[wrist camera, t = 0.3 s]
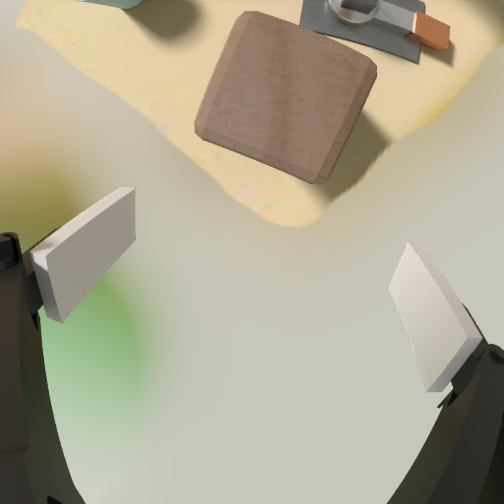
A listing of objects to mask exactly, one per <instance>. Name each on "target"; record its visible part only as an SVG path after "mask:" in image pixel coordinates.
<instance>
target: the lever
mask: <svg viewBox="0 0 504 504" xmlns="http://www.w3.org/2000/svg"><path fill="white" fill-rule="evenodd" d="M424 4H425V3H423V2H421V1H419V0H303V6H302V12H301V18H300V23H299V26H301V27H304V28H306V29H309V30H311V31H314V32H319V33H324V34H328V35H332V36H336V37H340V38H344V39H348V40H351V41H355V42H358V43H362V44H365V45H368V46H372V47H375V48H378V49H381V50H384V51H387V52H390V53H392V54H395V55H398V56H401V57H403V58H406V59H408V60H411V61H414V62H416V63H418V58H419V51H420V43H423V44H426V45H428V46H430V47H432V48H435V49H437V50H439V51H440V50H445V49H448V45H449V35H450V26H448V25H446V24H444V23H442V22H440V21H438V20H436V19H434V18H432V17H430V16H428V15H425V14H424Z"/></svg>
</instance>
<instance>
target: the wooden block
mask: <svg viewBox="0 0 504 504" xmlns="http://www.w3.org/2000/svg"><path fill="white" fill-rule="evenodd" d="M376 78H377V65H375V63H374V62H373V61H372V60H371V59H370V58H369V57H367V56H365V55H363V54H361V53H359V52H357V51H355V50H353V49H351V48H349V47H347V46H345V45H343V44H341V43H339V42H337V41H335V40H332V39H330V38H328V37H326V36H323V35H321V34H319V33H316V32H314V31H311V30H309V29H306V28H304V27H301V26H299V25H296V24H293V23H291V22H288V21H285V20H282V19H279V18H276V17H273V16H270V15H267V14H264V13H261V12H258V11H244V12H243V14H241V15H240V16H239V17H238V18H237V19H236V21H235V23H234V25H233V28H232V30H231V32H230V34H229V36H228V39H227V41H226V43H225V45H224V48H223V50H222V52H221V55H220V57H219V59H218V62H217V64H216V67H215V69H214V72H213V74H212V77H211V79H210V82H209V84H208V87H207V89H206V92H205V94H204V97H203V100H202V102H201V105H200V108H199V110H198V113H197V116H196V119H195V122H194V126H195V133H196V134H197V135H198V136H199V137H200V138H201V139H202V140H204V141H207V142H210V143H213V144H215V145H218V146H221V147H223V148H226V149H229V150H231V151H234V152H236V153H239V154H241V155H244V156H247V157H249V158H252V159H254V160H256V161H259V162H261V163H264V164H266V165H269V166H271V167H273V168H276V169H278V170H281V171H283V172H285V173H287V174H290V175H292V176H294V177H297V178H299V179H301V180H303V181H306V182H308V183H310V184H322V183H323V182H324V181H325V180H327V179H328V178H329V177H330V175H331V173H332V171H333V169H334V167H335V165H336V163H337V161H338V159H339V156H340V154H341V152H342V150H343V148H344V146H345V144H346V142H347V140H348V138H349V136H350V134H351V132H352V129H353V127H354V125H355V123H356V121H357V119H358V117H359V115H360V112H361V110H362V108H363V106H364V104H365V102H366V100H367V97H368V95H369V93H370V91H371V89H372V86H373V84H374V82H375V80H376Z"/></svg>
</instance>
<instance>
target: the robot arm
mask: <svg viewBox="0 0 504 504" xmlns="http://www.w3.org/2000/svg"><path fill="white" fill-rule="evenodd" d="M135 238H136V237H135V188H129V187H120V188H118V189H117V190H115V191H114V192H112V193H111V194H109V195H107V196H106V197H105V198H103V199H101V200H100V201H98V202H97V203H95V204H94V205H92V206H91V207H89V208H88V209H86V210H85V211H83V212H82V213H81V214H79V215H78V216H76V217H75V218H73V219H72V220H71V221H69V222H68V223H66V224H65V225H64V226H62V227H59V228H57V229H54V230H53V231H52V232H50V233H49V234H48V235H47V236H45V237H44V238H42V239H41V240H40V241H38V242H37V243H36V244H35V245H33V246H32V247H31V248H29V249H28V250H27V251H26V252H25V253H23V254H21V248H20V244H19V239H18V235H17V234H16V233H12V232H6V233H1V234H0V504H85V502H84V500H83V498H82V497H81V495H80V494H79V492H78V491H77V489H76V487H75V486H74V483H73V481H72V479H71V475H70V473H69V469H68V467H67V463H66V460H65V457H64V454H63V450H62V447H61V443H60V440H59V436H58V432H57V428H56V424H55V419H54V415H53V410H52V406H51V401H50V396H49V390H48V384H47V378H46V371H45V364H44V356H43V348H42V337H41V325H40V317H39V313H38V310H39V309H40V308H41V306H42V305H44V309H45V312H46V315H47V317H48V318H50V319H53V320H56V321H58V322H60V323H63V322H64V321H65V319H66V318H67V317H68V316H69V314H70V313H71V312H72V311H73V310H74V308H75V307H76V306H77V305H78V304H79V302H80V301H81V300H82V299H83V298H84V296H85V295H86V294H87V293H88V292H89V290H90V289H91V288H92V287H93V286H94V285H95V284H96V282H97V281H98V280H99V279H100V278H101V277H102V276H103V275H104V274H105V272H106V271H107V270H108V269H109V268H110V267H111V266H112V265H113V263H114V262H115V261H116V260H117V259H118V258H119V257H120V256H121V255H122V254H123V253H124V252H125V251H126V249H127V248H128V247H129V246H130V245H131V244H132V243H133V242H134V241H135V240H136V239H135ZM388 289H389V292H390V294H391V297H392V299H393V302H394V304H395V307H396V309H397V311H398V314H399V316H400V319H401V322H402V324H403V327H404V329H405V332H406V335H407V337H408V340H409V343H410V345H411V348H412V351H413V354H414V357H415V359H416V362H417V365H418V368H419V371H420V374H421V377H422V380H423V383H424V386H425V390H426V392H442V391H443V389H444V388H445V387H446V386H447V385H448V384H449V382H450V381H451V383H452V386H453V389H452V391H451V392H450V393H449V394H448V395H447V396H446V398H445V399H444V400H443V401H442V402H441V403H440V404H439V405H438V408H440V407H441V406H442V405H443V407H442V410H441V412H440V414H439V416H438V418H437V420H436V422H435V424H434V426H433V428H432V430H431V432H430V434H429V436H428V438H427V440H426V442H425V444H424V445H423V447H422V449H421V451H420V453H419V454H418V456H417V458H416V460H415V461H414V463H413V465H412V466H411V468H410V470H409V471H408V473H407V474H406V476H405V478H404V479H403V481H402V482H401V484H400V485H399V487H398V488H397V490H396V491H395V493H394V494H393V496H392V497H391V498H390V500H389V501H388V503H387V504H504V350H503V349H501V348H500V347H499V346H497V345H494V344H488V343H487V341H486V339H485V338H484V336H483V334H482V332H481V331H480V329H479V327H478V326H477V324H476V322H475V321H474V319H473V318H472V316H471V314H470V313H469V311H468V309H467V308H466V307H465V306H464V305H463V304H462V303H461V302H460V300H459V299H458V297H457V296H456V294H455V292H454V291H453V289H452V288H451V287H450V285H449V284H448V282H447V281H446V279H445V278H444V276H443V275H442V273H441V272H440V271H439V269H438V268H437V266H436V265H435V264H434V262H433V261H432V260H431V258H430V257H429V255H428V254H427V253H426V251H425V250H424V249H423V247H422V246H421V245H420V244H416V243H412V242H407V245H406V247H405V250H404V252H403V254H402V257H401V259H400V262H399V264H398V267H397V269H396V271H395V274H394V276H393V278H392V281H391V283H390V285H389V287H388Z"/></svg>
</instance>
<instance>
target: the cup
mask: <svg viewBox="0 0 504 504" xmlns="http://www.w3.org/2000/svg"><path fill="white" fill-rule="evenodd" d="M76 1H81V2H88V3H95V4H101V5H106V6H111V7H116V8H121V9H129V8H132V7H135V6H136V5H138V4H139V3H141V2H142V1H143V0H76Z"/></svg>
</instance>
